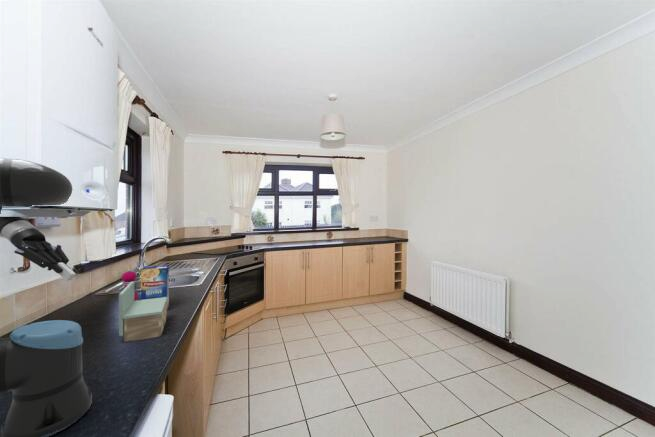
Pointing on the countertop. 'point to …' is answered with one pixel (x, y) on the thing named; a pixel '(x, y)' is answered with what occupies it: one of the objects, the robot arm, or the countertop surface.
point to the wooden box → (144, 327)
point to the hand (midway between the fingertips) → (71, 277)
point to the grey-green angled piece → (137, 306)
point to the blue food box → (155, 282)
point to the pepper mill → (129, 280)
